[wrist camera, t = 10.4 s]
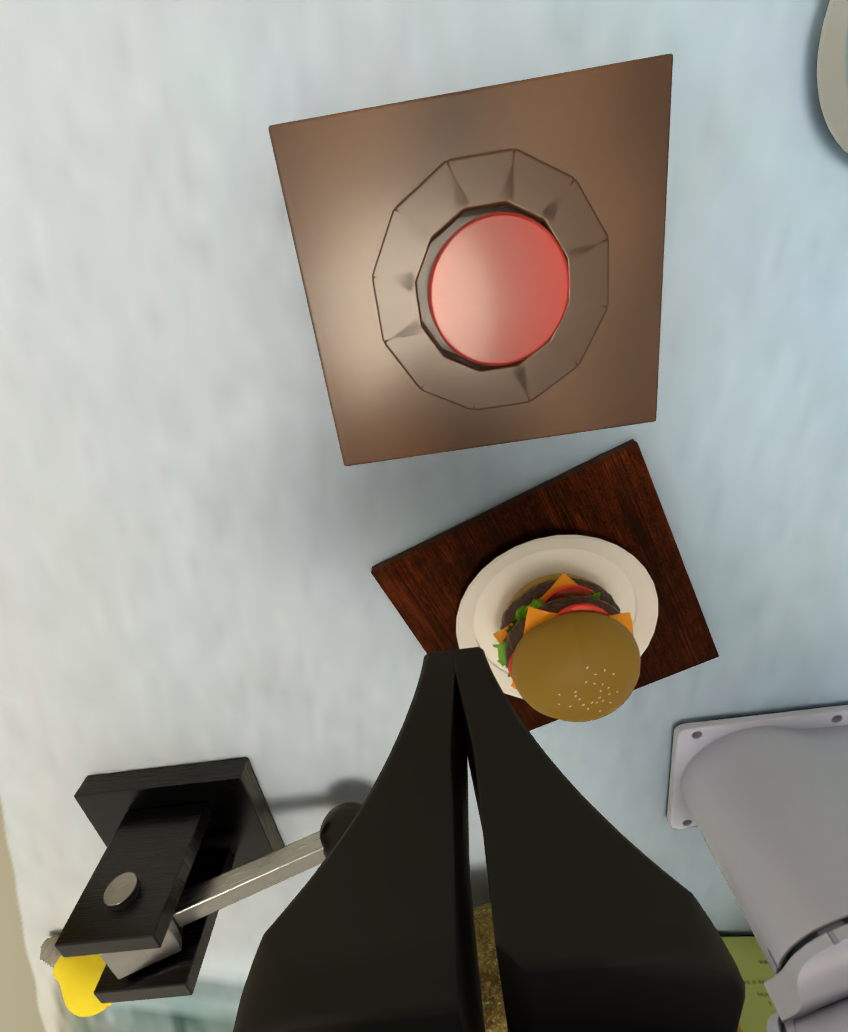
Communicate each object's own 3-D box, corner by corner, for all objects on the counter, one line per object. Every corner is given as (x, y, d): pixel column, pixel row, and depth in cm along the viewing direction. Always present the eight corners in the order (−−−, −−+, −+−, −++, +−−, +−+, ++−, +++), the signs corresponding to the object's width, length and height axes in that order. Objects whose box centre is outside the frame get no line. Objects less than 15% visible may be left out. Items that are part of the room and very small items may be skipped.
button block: (640, 81, 15) (710, 20, 12) (632, 406, 20) (681, 436, 16) (285, 144, 16) (247, 105, 12) (351, 448, 20) (337, 485, 17)
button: (551, 208, 14) (568, 199, 12) (555, 347, 15) (572, 355, 14) (418, 230, 14) (418, 224, 12) (436, 366, 15) (438, 375, 14)
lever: (363, 780, 28) (378, 829, 25) (373, 816, 29) (388, 866, 27) (106, 889, 25) (92, 957, 22) (130, 923, 26) (120, 993, 23)
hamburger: (489, 738, 27) (506, 842, 22) (371, 567, 22) (359, 649, 18) (713, 650, 25) (788, 744, 20) (632, 439, 20) (703, 492, 15)
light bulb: (146, 952, 34) (132, 979, 35) (72, 902, 35) (61, 930, 36) (105, 1011, 31) (91, 1039, 32) (24, 956, 31) (14, 985, 33)
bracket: (247, 757, 27) (193, 910, 21) (286, 850, 31) (250, 1006, 24) (86, 776, 28) (-17, 931, 21) (141, 865, 31) (68, 1024, 25)
